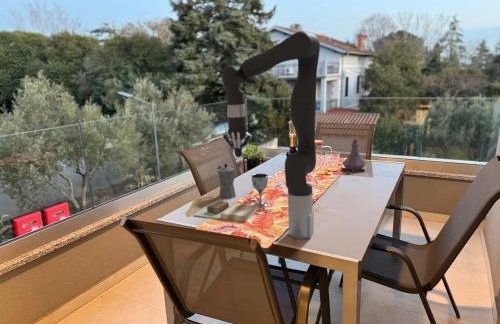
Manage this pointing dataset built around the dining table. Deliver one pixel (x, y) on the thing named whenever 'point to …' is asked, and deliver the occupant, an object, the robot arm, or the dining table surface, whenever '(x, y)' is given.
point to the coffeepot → (226, 182)
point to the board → (239, 212)
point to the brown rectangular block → (217, 207)
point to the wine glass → (260, 186)
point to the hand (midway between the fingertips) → (238, 156)
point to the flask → (354, 159)
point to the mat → (205, 214)
